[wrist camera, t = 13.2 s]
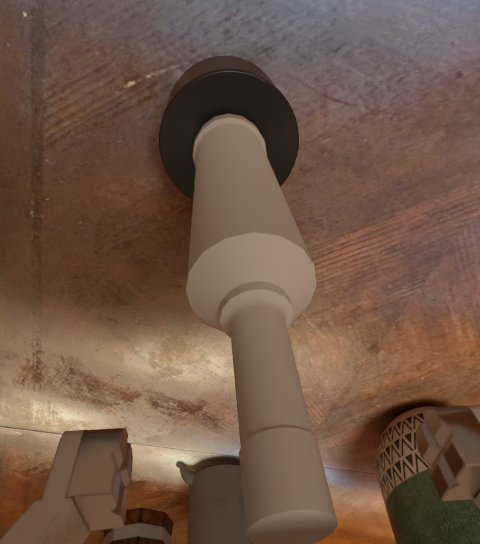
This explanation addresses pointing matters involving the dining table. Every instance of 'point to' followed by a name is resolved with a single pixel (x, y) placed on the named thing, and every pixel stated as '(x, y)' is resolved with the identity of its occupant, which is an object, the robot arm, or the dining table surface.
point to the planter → (419, 490)
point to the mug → (141, 528)
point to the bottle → (258, 326)
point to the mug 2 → (215, 505)
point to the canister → (222, 100)
